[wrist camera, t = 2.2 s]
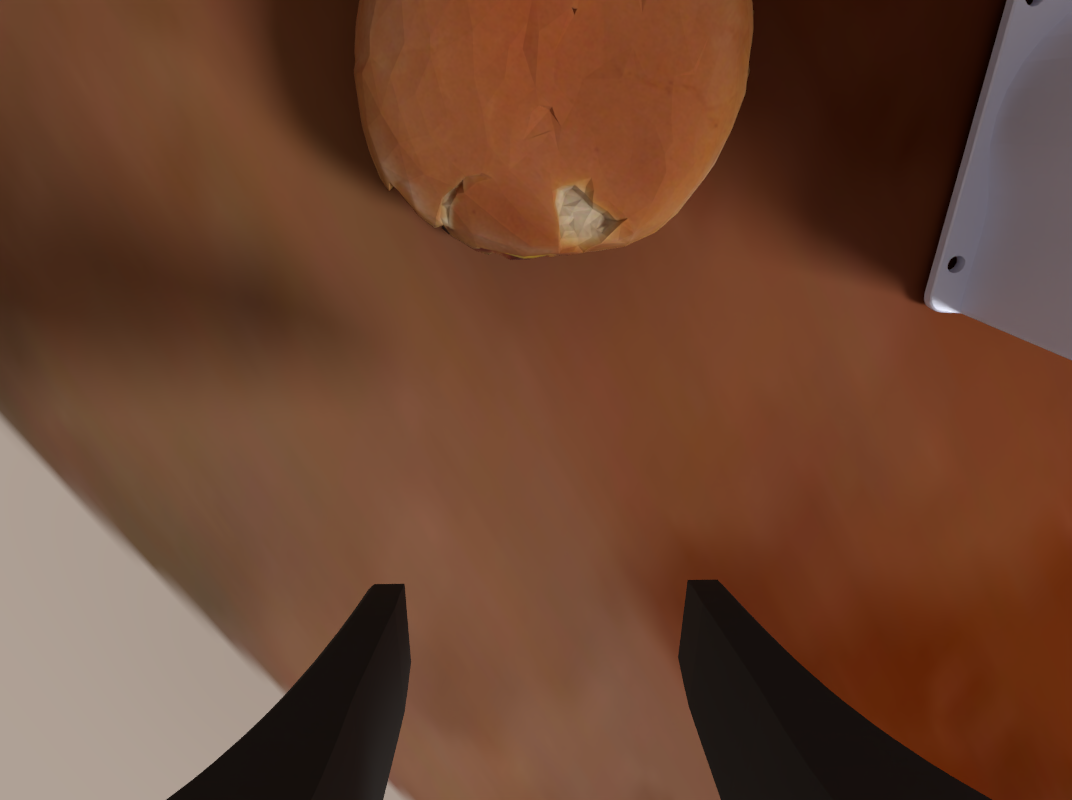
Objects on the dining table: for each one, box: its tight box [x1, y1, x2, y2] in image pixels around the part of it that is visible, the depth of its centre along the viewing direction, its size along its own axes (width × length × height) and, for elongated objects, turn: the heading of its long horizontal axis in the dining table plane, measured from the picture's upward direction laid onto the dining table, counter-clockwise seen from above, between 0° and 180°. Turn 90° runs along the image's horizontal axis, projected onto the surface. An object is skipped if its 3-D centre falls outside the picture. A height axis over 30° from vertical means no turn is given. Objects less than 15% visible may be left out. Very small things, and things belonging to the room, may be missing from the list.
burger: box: [354, 0, 755, 260], centre depth 16 cm, size 10×9×5 cm
